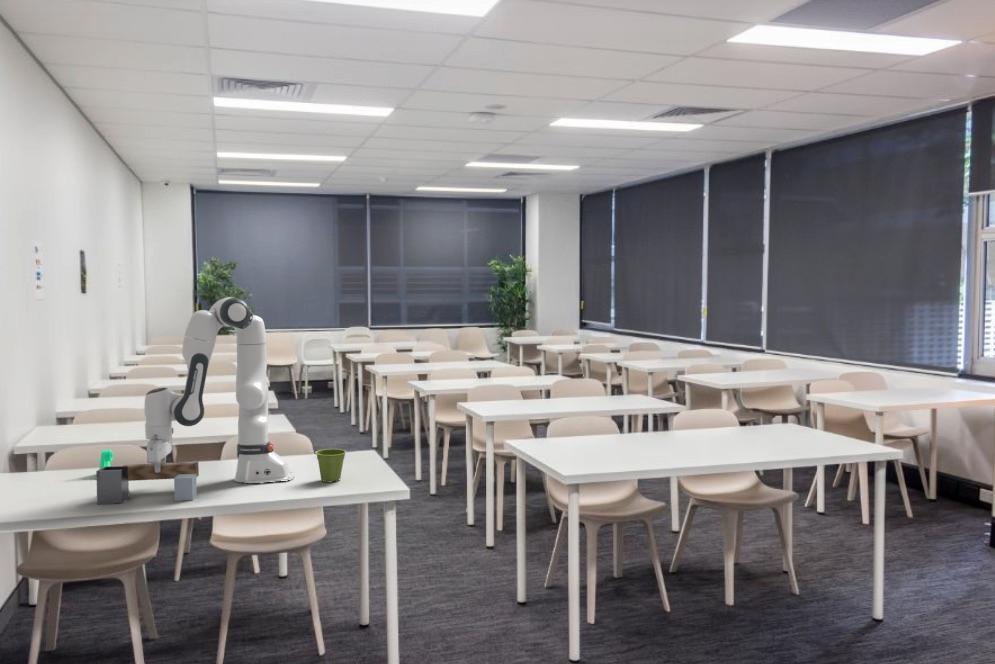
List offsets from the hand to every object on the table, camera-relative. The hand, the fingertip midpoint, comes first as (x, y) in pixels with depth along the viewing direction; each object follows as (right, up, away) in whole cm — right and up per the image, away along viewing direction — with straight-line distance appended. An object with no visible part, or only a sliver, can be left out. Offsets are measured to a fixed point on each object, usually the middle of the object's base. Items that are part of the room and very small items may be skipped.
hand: (160, 470), depth 284 cm
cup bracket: (-11, -8, -13) cm, 19 cm away
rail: (0, -3, 0) cm, 3 cm away
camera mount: (-30, -7, +26) cm, 40 cm away
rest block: (+13, -8, -10) cm, 18 cm away
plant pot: (+59, -7, +17) cm, 62 cm away
